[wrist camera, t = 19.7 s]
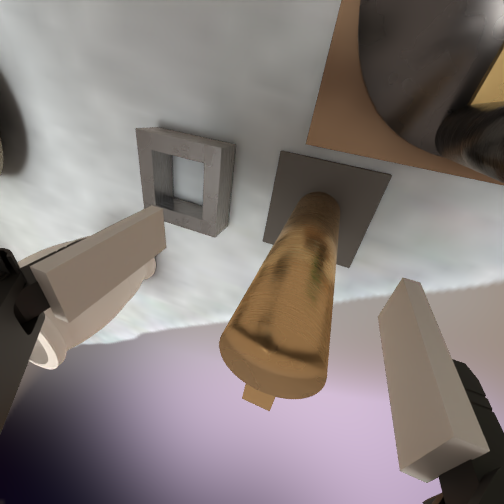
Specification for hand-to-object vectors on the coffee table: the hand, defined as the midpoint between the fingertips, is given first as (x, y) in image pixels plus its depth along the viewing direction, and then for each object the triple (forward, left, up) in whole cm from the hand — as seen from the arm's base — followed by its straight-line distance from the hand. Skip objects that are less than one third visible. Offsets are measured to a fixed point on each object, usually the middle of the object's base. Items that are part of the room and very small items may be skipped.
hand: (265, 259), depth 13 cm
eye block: (+1, -11, -11) cm, 16 cm away
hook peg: (+2, +2, -11) cm, 11 cm away
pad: (+1, +2, -11) cm, 11 cm away
